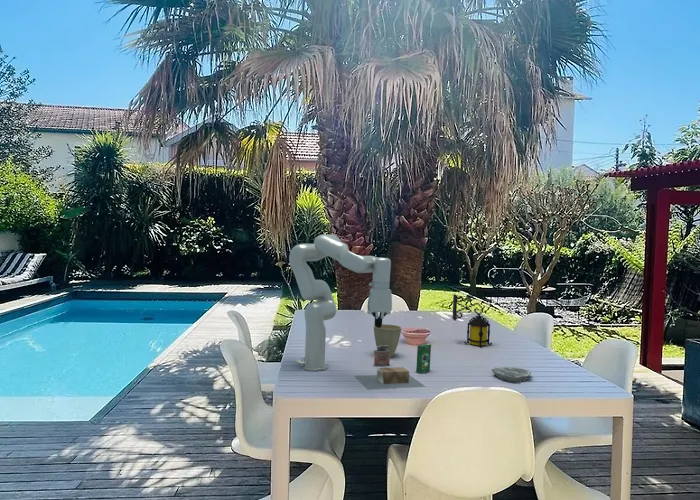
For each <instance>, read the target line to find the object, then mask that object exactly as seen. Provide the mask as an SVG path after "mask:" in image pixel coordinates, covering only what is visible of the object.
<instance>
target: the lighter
mask: <svg viewBox="0 0 700 500" xmlns="http://www.w3.org/2000/svg"><path fill="white" fill-rule="evenodd" d="M384 348H385V350H384ZM386 348H389V346H388V345H385V346H382V345H380V346H376V349H375V350H374V360H373V361H374V362H373V366H374V367H389V366H390V364H391V363H390V350H386Z"/></svg>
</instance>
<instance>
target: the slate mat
mask: <svg viewBox="0 0 700 500" xmlns="http://www.w3.org/2000/svg"><path fill="white" fill-rule="evenodd" d="M353 377H354V378H355V379H356V380H357V381H358V382H359V383H360V384H362V385H363V387H365V388H366V390H368V391H369V390H384V389H385V390H386V389H387V390H389V389H404V388H405V389H406V388H409V389H410V388H425V387H426V386H425V385H424V384H423V383H421V382H420V381H419V380H417V378H415V377H413V376H412V375H410V374H409V383H391V384H381V383H380V382H379V381H378V380H377V374H372V375H371V374H369V375H354V376H353Z"/></svg>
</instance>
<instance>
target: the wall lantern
mask: <svg viewBox="0 0 700 500" xmlns="http://www.w3.org/2000/svg"><path fill="white" fill-rule="evenodd" d="M452 297H453V298H452V302H453V303H452V320H454V321H457V320H458V319H462V318H463V315H464V314H463V313H462V311H464V310H465V311H467V312H468V314H470V313H472V311H474V313H475V314H476V315H475V316H473V317H471V318H470V319H469V322H468V323H467V328H466V329H467V330H466V341H463V343H464V344H465V345H466V346H467V345H468V344H470V345H474V346H479V348H480V349H481V348H482V347H483V346H486V345H488V346H490V347H491V345H493V342H490V335H491V330H490V329H491V323H489V321H490V320H488V319H487V318H486V317H484V316H483V315H481V314H482V313H484V307H483V306H482V305H481V304H480V303H479V302H474V303H471V305H463V304H462V302H463V301H464V297H463V296H458V295H457V294H453V296H452ZM460 299H461V300H460ZM458 300H459V302H458ZM457 305H458V306H460V307H461V308H460V309H458V306H457ZM476 305H478V307H480V308H481V310H480V309H479V308H478V307H475V306H476ZM472 307H475V308H474V310H472V309H471V308H472ZM478 311H479V313H478ZM458 313H459V315H460V316H459V315H458Z"/></svg>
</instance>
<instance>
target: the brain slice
mask: <svg viewBox="0 0 700 500" xmlns="http://www.w3.org/2000/svg"><path fill="white" fill-rule="evenodd" d="M491 371H492V373H493V374H494V375H495V377H497V378H498V379H500V380H501V381H505V382H509V383H521V382H525V381H528V380H529V379H530V377H531V373H532V370H528V369H525V368H521V367H512V366H509V367H508V366H495V367H494V368H491Z"/></svg>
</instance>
